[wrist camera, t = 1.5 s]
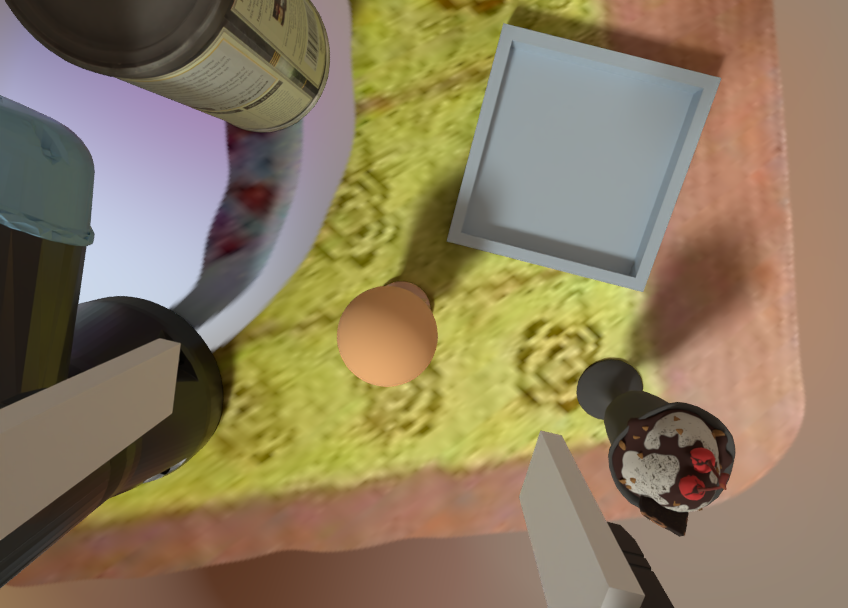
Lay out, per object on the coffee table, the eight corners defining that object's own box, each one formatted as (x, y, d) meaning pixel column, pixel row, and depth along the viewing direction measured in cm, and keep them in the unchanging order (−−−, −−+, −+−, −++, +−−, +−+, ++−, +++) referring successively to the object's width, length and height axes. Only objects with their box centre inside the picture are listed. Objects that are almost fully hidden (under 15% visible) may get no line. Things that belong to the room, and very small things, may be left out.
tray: (447, 239, 32) (446, 241, 30) (500, 36, 29) (503, 23, 27) (631, 287, 32) (642, 291, 30) (703, 87, 29) (721, 78, 27)
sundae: (617, 330, 33) (750, 423, 18) (670, 395, 34) (838, 535, 19) (547, 383, 34) (618, 510, 19) (599, 444, 35) (706, 611, 20)
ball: (341, 353, 30) (314, 387, 24) (360, 269, 29) (336, 283, 23) (426, 375, 30) (420, 415, 24) (449, 292, 29) (448, 312, 23)
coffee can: (160, 20, 31) (-78, -138, 17) (287, -57, 29) (139, -298, 15) (233, 159, 32) (69, 119, 18) (356, 93, 31) (278, -5, 17)
